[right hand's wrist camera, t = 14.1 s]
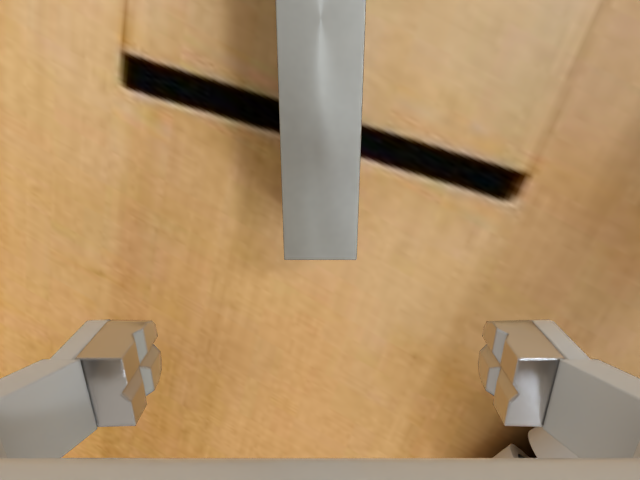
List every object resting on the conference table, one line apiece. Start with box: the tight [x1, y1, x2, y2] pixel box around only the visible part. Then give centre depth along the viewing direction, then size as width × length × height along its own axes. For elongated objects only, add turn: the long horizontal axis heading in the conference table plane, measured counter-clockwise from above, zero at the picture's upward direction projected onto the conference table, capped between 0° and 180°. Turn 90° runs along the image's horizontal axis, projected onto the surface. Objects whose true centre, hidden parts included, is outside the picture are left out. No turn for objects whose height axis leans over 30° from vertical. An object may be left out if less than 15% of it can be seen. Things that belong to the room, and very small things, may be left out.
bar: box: [276, 0, 366, 260], centre depth 25 cm, size 27×4×9 cm, turn 0°
